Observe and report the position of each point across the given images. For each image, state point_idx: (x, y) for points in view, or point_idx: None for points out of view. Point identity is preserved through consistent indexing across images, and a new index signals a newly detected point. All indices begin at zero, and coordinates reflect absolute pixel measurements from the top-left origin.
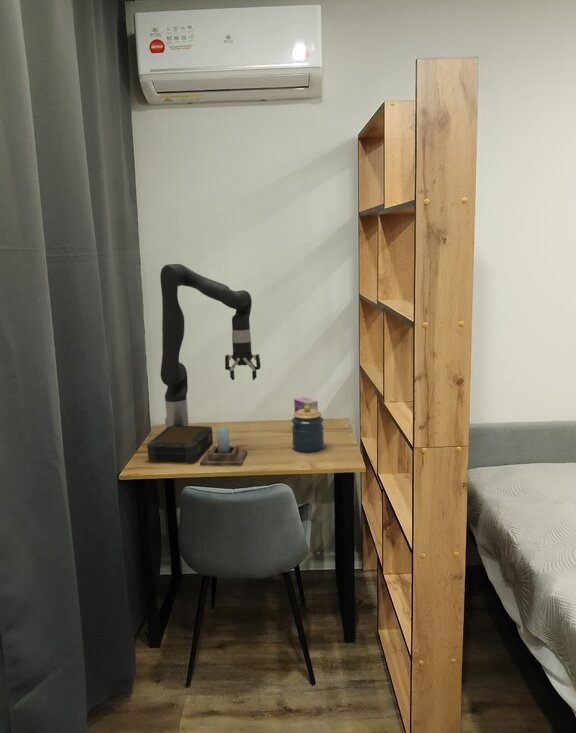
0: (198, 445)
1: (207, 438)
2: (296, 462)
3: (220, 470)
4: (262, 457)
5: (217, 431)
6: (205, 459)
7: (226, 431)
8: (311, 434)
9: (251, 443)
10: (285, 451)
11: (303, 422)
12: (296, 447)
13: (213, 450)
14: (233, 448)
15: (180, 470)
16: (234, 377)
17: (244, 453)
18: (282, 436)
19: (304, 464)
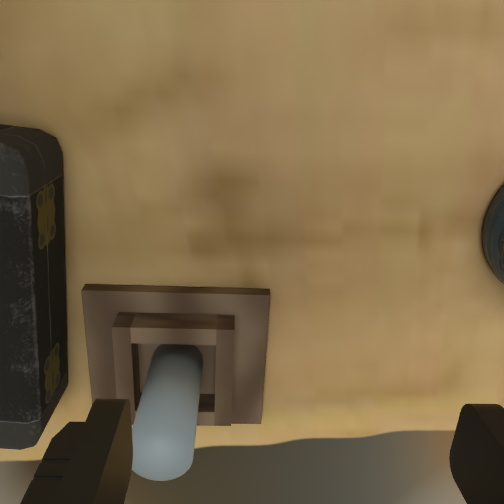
0: (45, 387)
1: (44, 253)
2: (470, 386)
3: None
4: (338, 336)
5: (136, 468)
6: (106, 392)
7: (186, 467)
8: None
9: (274, 152)
10: (440, 271)
11: None
12: (499, 279)
13: (126, 380)
14: (211, 341)
15: (38, 450)
16: (122, 413)
17: (261, 332)
18: (447, 32)
19: (497, 403)
